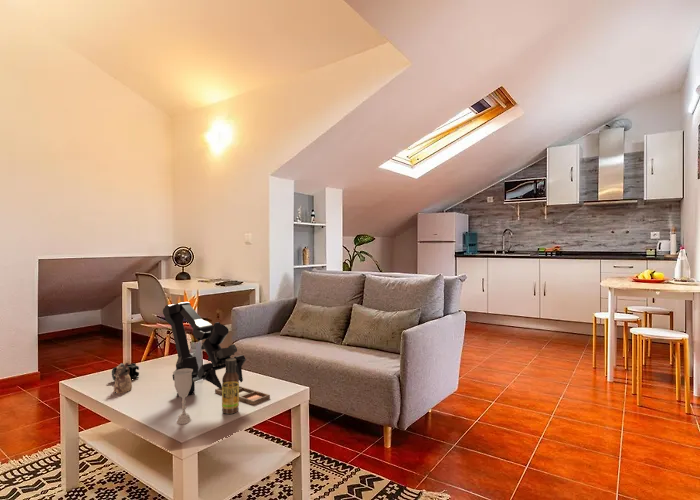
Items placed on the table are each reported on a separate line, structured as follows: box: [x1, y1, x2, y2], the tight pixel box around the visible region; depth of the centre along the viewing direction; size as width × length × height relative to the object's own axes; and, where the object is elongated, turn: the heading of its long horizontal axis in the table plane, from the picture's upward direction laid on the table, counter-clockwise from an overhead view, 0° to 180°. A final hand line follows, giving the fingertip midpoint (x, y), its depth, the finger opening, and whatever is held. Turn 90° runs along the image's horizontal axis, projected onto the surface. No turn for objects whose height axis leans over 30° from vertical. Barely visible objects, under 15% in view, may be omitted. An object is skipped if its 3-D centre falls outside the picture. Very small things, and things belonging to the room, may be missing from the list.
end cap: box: [111, 362, 140, 382], centre depth 202 cm, size 10×7×7 cm
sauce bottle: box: [221, 357, 240, 415], centre depth 161 cm, size 6×6×20 cm
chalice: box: [172, 368, 193, 425], centre depth 153 cm, size 7×7×18 cm
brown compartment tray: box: [214, 385, 271, 406], centre depth 178 cm, size 25×9×2 cm, turn 53°
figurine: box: [113, 362, 133, 394], centre depth 187 cm, size 7×7×12 cm
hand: (231, 384), depth 160 cm, fingers open, 9 cm apart
